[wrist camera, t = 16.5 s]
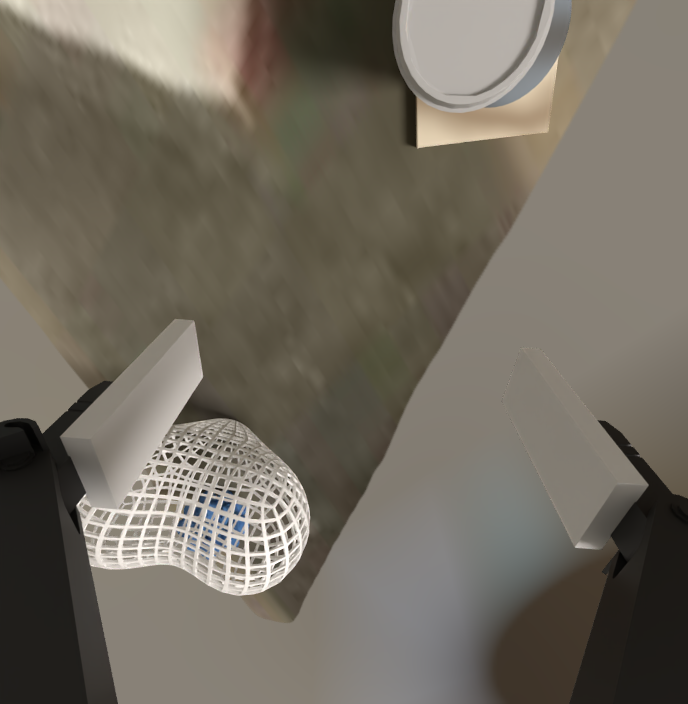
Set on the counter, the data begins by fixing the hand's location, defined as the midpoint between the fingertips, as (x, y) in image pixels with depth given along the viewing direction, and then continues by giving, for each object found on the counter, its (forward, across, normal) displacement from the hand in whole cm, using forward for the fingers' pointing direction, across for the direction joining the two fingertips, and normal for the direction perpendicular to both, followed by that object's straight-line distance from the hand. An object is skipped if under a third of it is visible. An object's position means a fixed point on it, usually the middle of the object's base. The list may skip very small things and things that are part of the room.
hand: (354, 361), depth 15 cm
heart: (+29, -17, -32) cm, 46 cm away
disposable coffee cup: (+28, +7, +15) cm, 33 cm away
